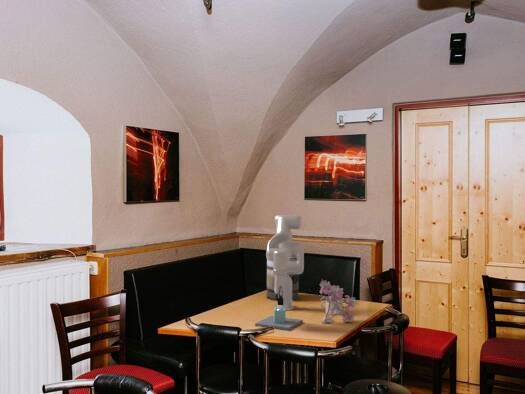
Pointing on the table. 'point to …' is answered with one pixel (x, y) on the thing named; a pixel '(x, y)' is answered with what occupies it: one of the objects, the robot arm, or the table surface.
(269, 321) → the base plate
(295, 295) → the barrel
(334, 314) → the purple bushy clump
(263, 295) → the table surface
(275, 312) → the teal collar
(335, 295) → the flower
